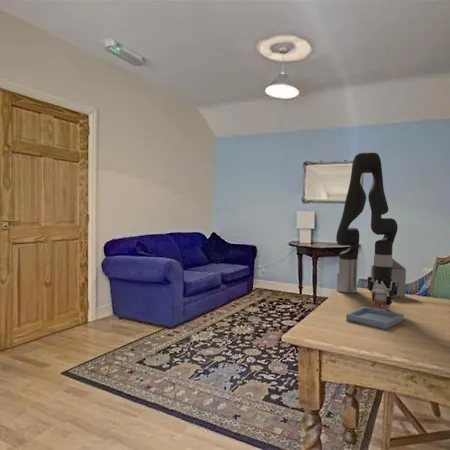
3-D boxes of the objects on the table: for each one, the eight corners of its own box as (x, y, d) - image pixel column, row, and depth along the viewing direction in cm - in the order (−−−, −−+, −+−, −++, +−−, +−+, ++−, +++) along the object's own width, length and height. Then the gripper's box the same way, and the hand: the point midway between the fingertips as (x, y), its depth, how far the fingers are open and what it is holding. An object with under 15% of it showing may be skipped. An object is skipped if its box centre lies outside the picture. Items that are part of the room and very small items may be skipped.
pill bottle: (378, 306, 172) (379, 281, 172) (391, 309, 167) (392, 283, 167) (371, 308, 168) (371, 283, 168) (384, 311, 164) (385, 285, 163)
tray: (346, 320, 152) (346, 314, 151) (364, 312, 163) (364, 306, 163) (387, 329, 140) (387, 323, 140) (403, 320, 152) (403, 314, 152)
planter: (367, 295, 195) (368, 256, 194) (370, 292, 202) (372, 255, 201) (403, 299, 187) (404, 259, 186) (405, 296, 193) (406, 257, 192)
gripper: (363, 262, 171) (362, 300, 172) (392, 267, 159) (390, 308, 160) (374, 261, 175) (373, 298, 176) (403, 266, 162) (402, 305, 163)
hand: (381, 302), depth 168 cm, fingers closed on pill bottle, 6 cm apart
